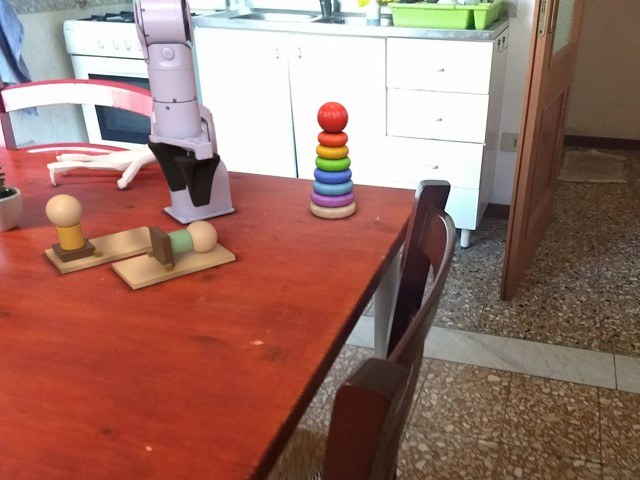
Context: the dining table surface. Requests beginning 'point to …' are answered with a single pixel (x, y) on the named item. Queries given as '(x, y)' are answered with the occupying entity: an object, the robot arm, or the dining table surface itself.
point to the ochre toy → (68, 228)
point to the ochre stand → (107, 249)
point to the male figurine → (106, 163)
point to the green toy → (182, 241)
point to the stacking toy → (332, 166)
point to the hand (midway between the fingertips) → (189, 197)
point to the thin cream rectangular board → (169, 266)
